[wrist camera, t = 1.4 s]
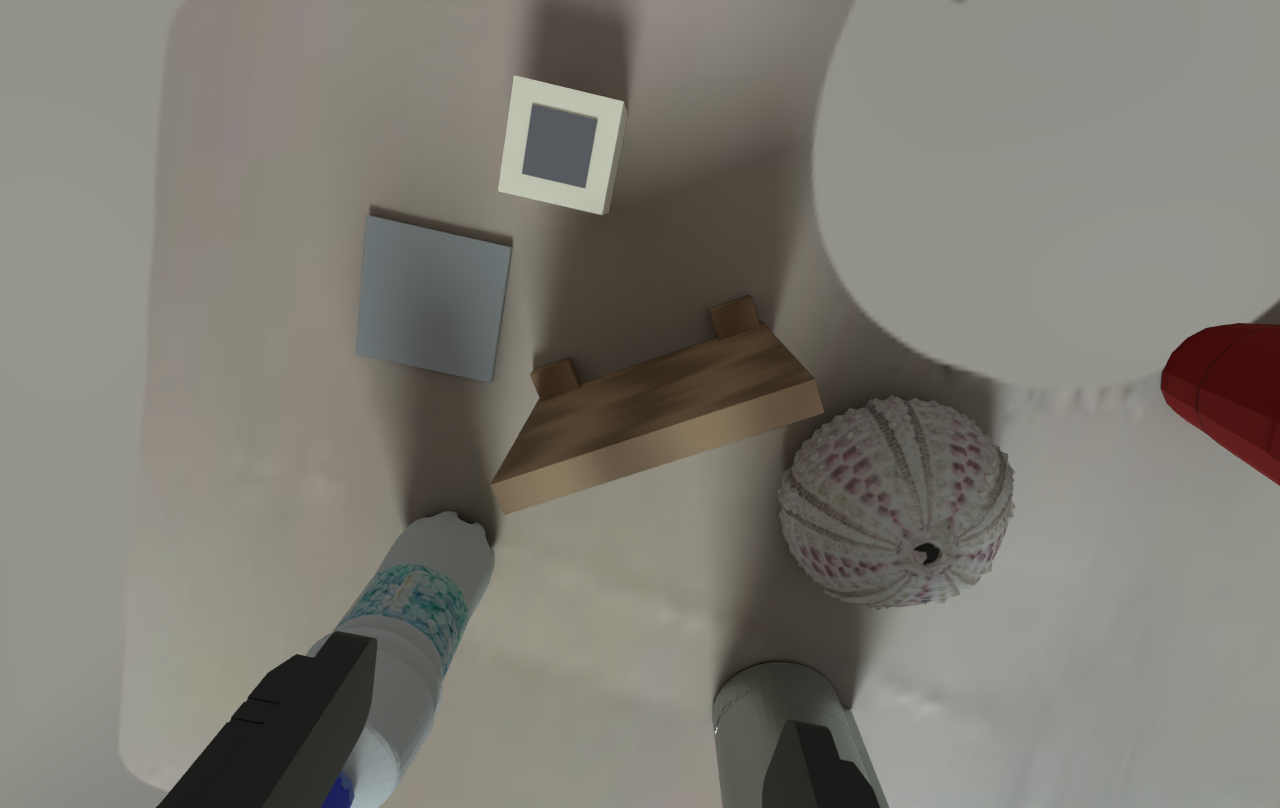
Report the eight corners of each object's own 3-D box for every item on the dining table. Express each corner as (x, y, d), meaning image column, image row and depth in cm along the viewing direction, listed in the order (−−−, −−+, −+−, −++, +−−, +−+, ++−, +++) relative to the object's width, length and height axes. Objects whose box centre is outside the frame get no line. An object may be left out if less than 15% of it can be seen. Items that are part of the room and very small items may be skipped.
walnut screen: (753, 293, 35) (803, 337, 24) (777, 373, 36) (835, 451, 25) (528, 371, 37) (472, 448, 25) (559, 444, 38) (520, 549, 27)
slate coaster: (512, 246, 34) (510, 247, 34) (492, 380, 37) (490, 382, 36) (370, 214, 34) (366, 215, 33) (360, 352, 36) (356, 354, 36)
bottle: (401, 494, 39) (168, 767, 20) (505, 505, 39) (370, 786, 21) (403, 583, 42) (193, 905, 23) (501, 593, 42) (375, 922, 23)
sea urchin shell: (1028, 447, 38) (1124, 509, 30) (897, 608, 42) (952, 699, 34) (850, 345, 36) (903, 384, 28) (729, 523, 40) (748, 600, 32)
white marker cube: (609, 213, 34) (601, 215, 29) (519, 192, 34) (497, 191, 29) (628, 114, 32) (624, 98, 27) (534, 92, 32) (513, 72, 27)
